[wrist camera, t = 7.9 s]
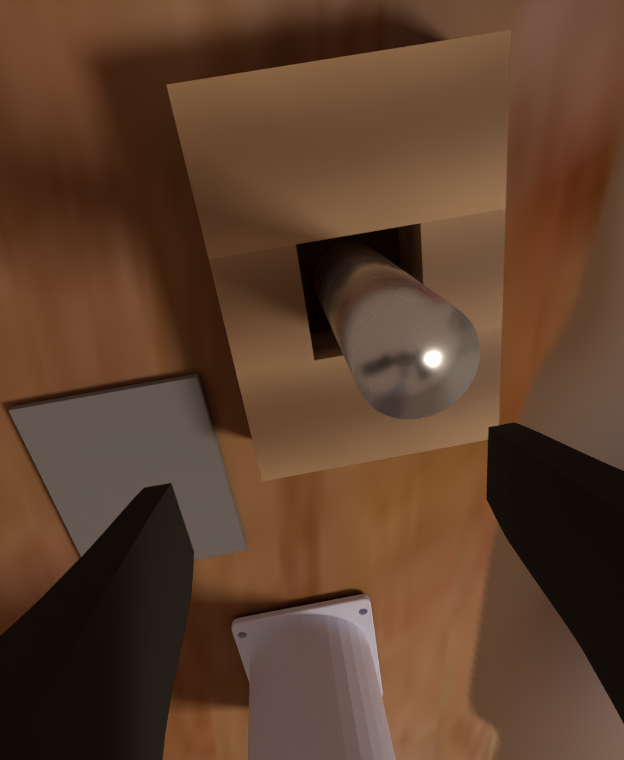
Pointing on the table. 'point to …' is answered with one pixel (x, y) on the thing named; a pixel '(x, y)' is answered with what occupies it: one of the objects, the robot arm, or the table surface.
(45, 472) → the mat
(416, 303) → the peg
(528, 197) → the table surface
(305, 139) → the hole block
